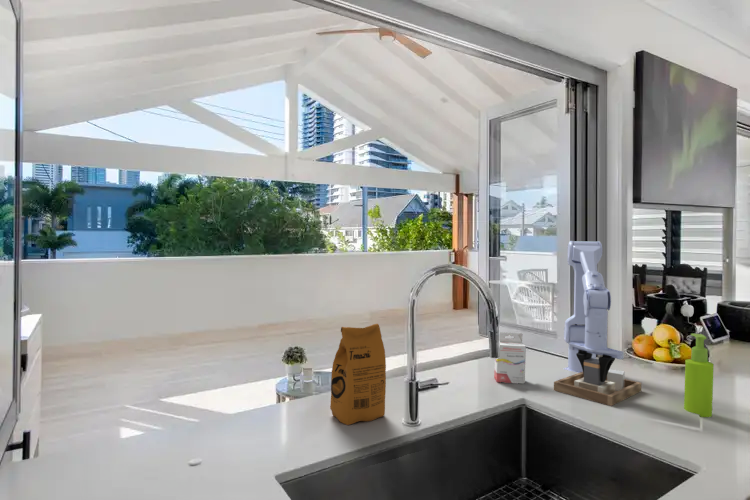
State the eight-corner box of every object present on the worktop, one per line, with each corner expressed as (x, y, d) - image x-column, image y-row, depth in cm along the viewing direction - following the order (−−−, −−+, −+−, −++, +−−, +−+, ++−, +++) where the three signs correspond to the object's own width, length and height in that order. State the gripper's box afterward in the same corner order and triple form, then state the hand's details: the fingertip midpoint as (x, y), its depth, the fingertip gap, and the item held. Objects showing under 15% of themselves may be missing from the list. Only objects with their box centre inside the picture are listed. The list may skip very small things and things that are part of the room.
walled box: (586, 379, 145) (586, 368, 145) (641, 393, 133) (641, 381, 132) (553, 392, 132) (553, 380, 132) (611, 408, 120) (611, 394, 120)
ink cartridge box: (496, 382, 140) (497, 334, 140) (494, 378, 145) (495, 331, 145) (525, 384, 139) (526, 335, 139) (521, 379, 144) (522, 332, 144)
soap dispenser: (705, 409, 120) (708, 333, 120) (715, 418, 114) (718, 338, 113) (679, 406, 122) (681, 331, 122) (688, 415, 116) (690, 336, 115)
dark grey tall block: (589, 385, 133) (590, 357, 133) (604, 388, 130) (604, 360, 130) (583, 387, 131) (583, 360, 131) (597, 391, 128) (598, 363, 127)
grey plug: (608, 385, 137) (609, 369, 137) (624, 388, 135) (624, 371, 135) (606, 389, 134) (607, 372, 134) (622, 391, 131) (622, 374, 131)
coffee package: (325, 413, 112) (326, 324, 112) (369, 405, 119) (371, 320, 118) (343, 428, 104) (345, 331, 103) (390, 418, 110) (391, 326, 110)
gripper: (564, 329, 134) (563, 375, 134) (616, 337, 123) (615, 388, 123) (576, 326, 138) (575, 371, 138) (627, 334, 127) (626, 383, 127)
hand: (594, 379), depth 131 cm, fingers closed on dark grey tall block, 4 cm apart
